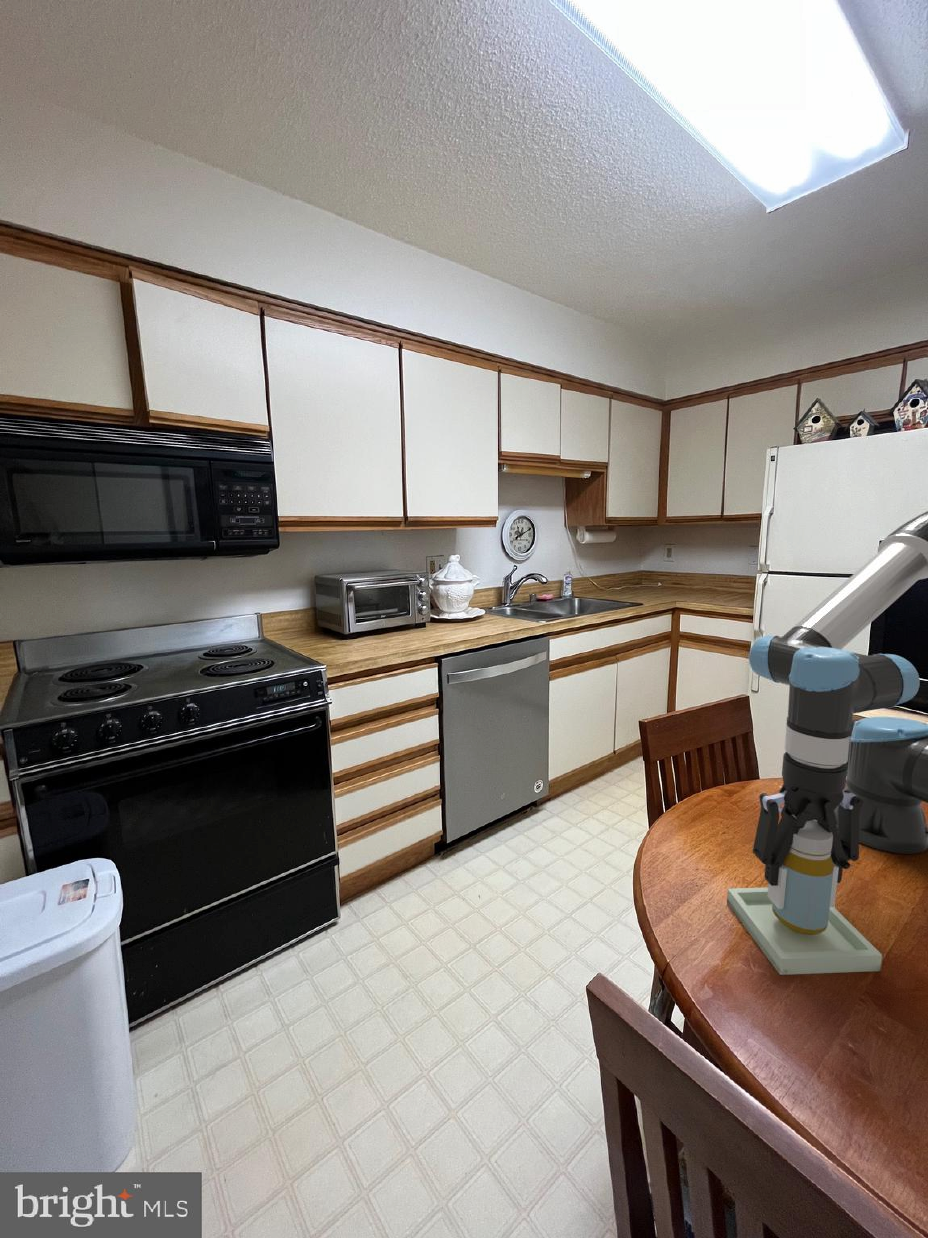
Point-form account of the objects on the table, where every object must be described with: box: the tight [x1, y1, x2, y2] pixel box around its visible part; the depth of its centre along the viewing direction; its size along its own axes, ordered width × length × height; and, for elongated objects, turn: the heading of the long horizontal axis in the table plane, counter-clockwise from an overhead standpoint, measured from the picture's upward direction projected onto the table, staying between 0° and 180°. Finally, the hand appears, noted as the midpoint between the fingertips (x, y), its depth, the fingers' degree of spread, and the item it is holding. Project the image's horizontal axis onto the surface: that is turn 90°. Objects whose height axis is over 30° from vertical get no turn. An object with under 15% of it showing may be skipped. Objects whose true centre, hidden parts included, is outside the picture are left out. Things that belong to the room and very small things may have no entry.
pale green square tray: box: [726, 886, 883, 976], centre depth 78 cm, size 14×14×2 cm
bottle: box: [772, 816, 834, 935], centre depth 76 cm, size 7×7×15 cm
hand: (800, 901), depth 77 cm, fingers closed on bottle, 7 cm apart
